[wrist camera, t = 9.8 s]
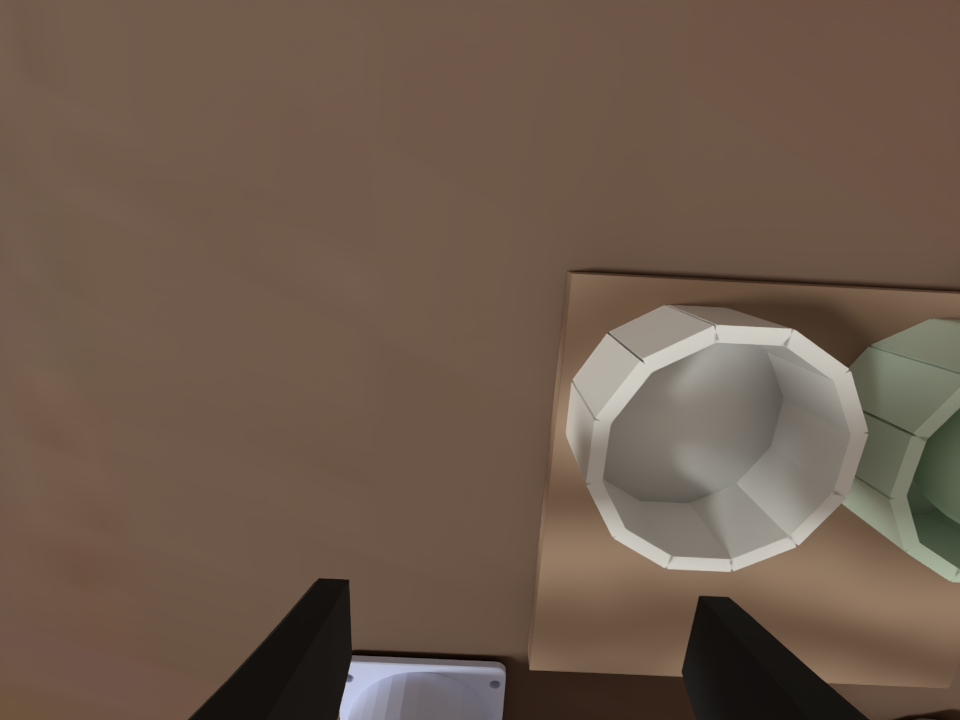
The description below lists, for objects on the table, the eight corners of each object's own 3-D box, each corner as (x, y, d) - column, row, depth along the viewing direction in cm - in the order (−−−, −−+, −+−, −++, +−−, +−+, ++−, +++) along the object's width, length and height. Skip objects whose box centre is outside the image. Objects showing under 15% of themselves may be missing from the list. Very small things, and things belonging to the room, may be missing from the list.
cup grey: (759, 511, 18) (822, 576, 15) (557, 502, 18) (574, 564, 15) (811, 312, 16) (900, 334, 12) (580, 300, 16) (607, 319, 12)
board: (927, 667, 22) (948, 688, 21) (527, 650, 21) (529, 669, 20) (1088, 298, 17) (1126, 302, 16) (567, 271, 16) (572, 273, 15)
